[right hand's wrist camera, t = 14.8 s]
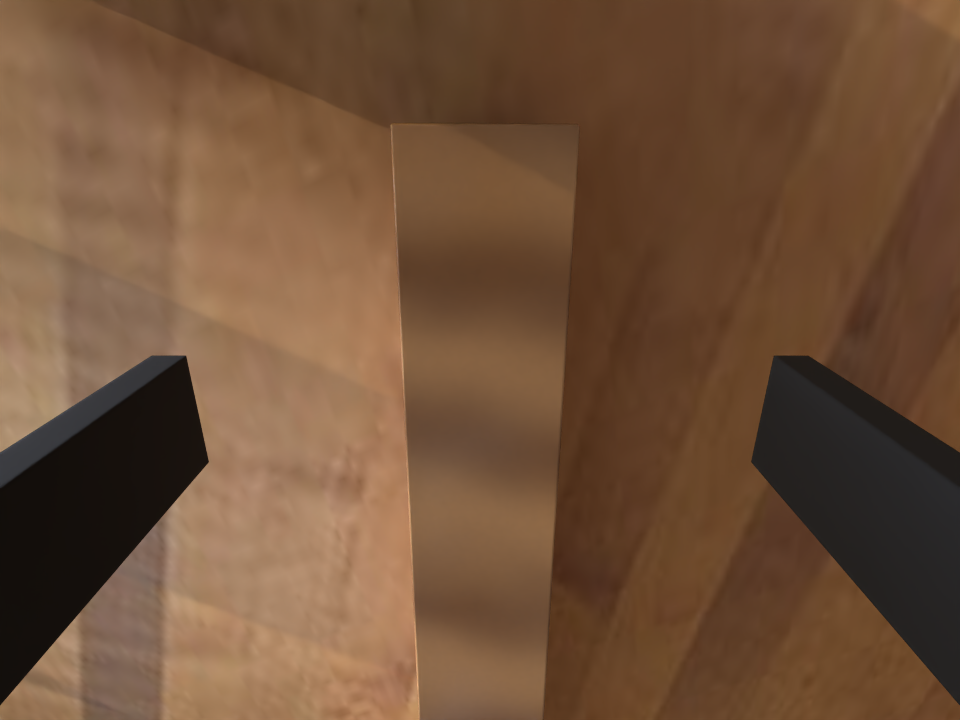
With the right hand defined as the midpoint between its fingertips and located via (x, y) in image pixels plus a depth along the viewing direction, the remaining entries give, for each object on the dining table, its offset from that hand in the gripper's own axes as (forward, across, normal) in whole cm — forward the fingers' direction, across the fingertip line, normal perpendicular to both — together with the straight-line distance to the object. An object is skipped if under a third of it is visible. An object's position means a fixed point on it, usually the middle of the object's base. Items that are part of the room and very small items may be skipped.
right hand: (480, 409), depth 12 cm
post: (+12, 0, -23) cm, 26 cm away
